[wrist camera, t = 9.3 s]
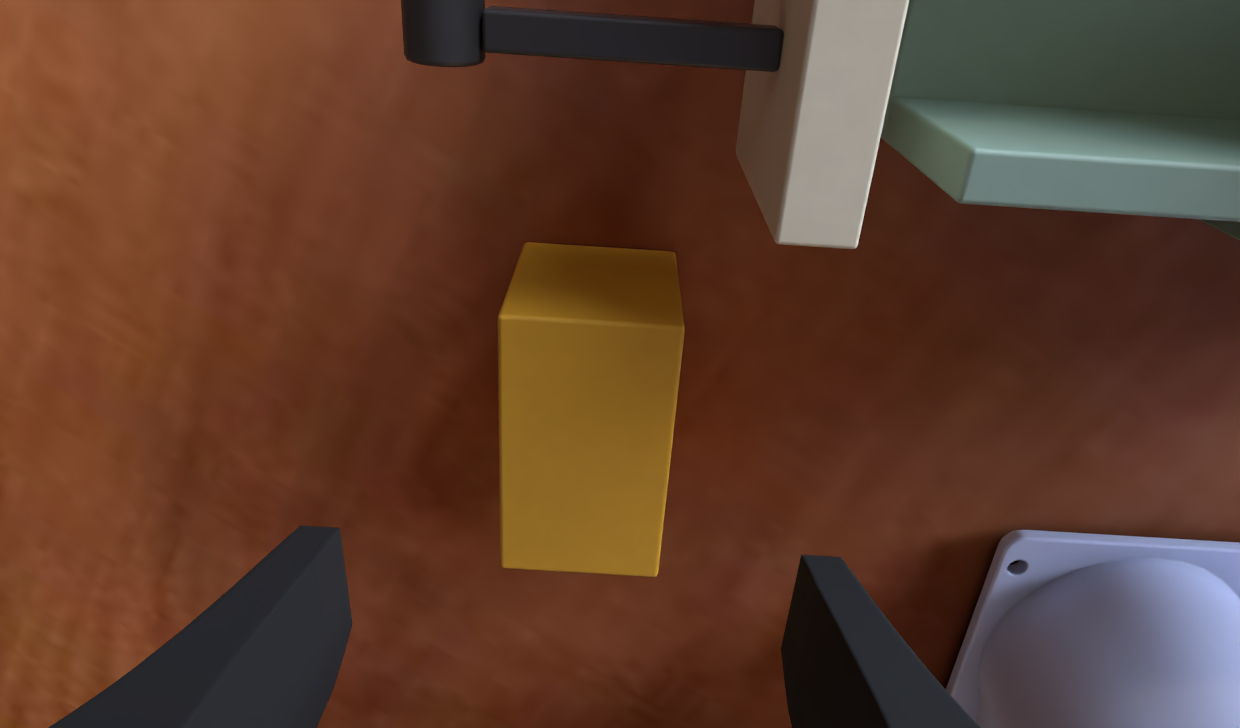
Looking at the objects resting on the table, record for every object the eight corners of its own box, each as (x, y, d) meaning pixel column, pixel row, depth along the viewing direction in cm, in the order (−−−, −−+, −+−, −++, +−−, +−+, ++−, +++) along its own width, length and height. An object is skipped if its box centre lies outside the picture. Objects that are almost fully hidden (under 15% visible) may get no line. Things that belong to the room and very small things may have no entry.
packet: (654, 470, 21) (657, 579, 17) (522, 462, 21) (499, 569, 17) (676, 250, 18) (685, 327, 15) (523, 240, 18) (497, 315, 15)
